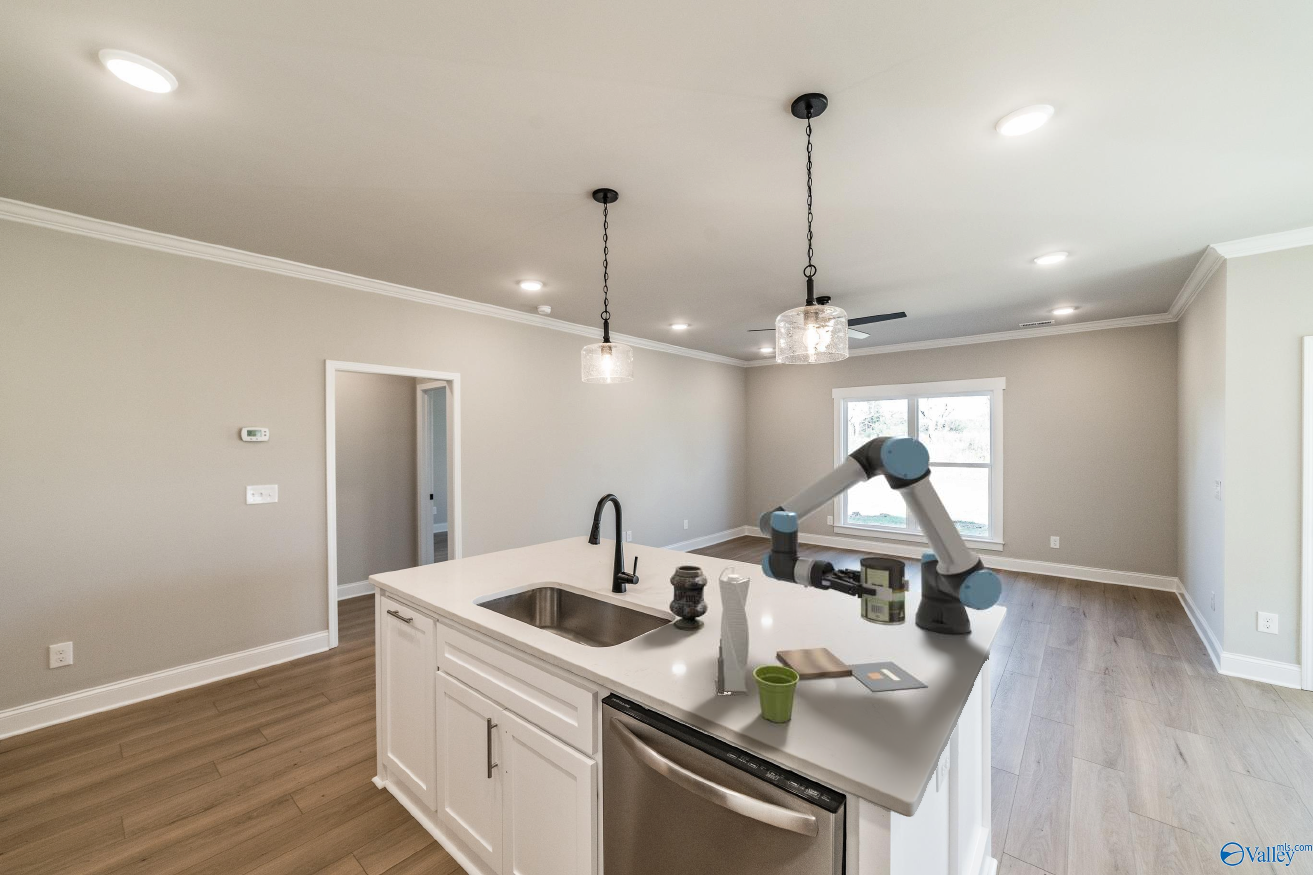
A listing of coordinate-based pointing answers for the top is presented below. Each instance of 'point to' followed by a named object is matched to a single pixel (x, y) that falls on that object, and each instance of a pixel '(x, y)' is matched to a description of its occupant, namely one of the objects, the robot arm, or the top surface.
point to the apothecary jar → (688, 597)
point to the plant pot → (776, 691)
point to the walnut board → (814, 663)
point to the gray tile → (884, 676)
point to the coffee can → (887, 576)
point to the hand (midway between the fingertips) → (900, 590)
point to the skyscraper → (733, 635)
